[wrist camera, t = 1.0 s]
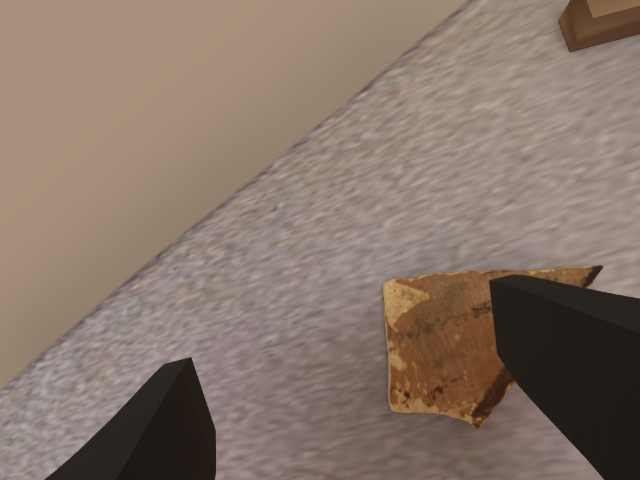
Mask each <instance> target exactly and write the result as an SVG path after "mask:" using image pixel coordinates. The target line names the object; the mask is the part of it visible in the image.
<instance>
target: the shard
mask: <svg viewBox="0 0 640 480" xmlns="http://www.w3.org/2000/svg"><path fill="white" fill-rule="evenodd" d="M602 269H603V266H602V265H599V266H583V267H563V268H557V269H551V270H534V271H514V270H491V271H463V272H461V271H459V272H455V273H444V272H443V273H439V274H426V275H420V276H418V277H416V278H413V279H391V280H389V281H385V282H383V283H382V284H383V296H384V303H385V312H384V318H385V329H386V340H387V351H388V368H389V370H388V391H387V393H388V401H389V404H390V408H391V410H392V411H394V412H404V413H412V412H418V413H435V414H444V415H447V416H450V417H455V418H458V419H462V420H465V421H467V422H468V423H470V424H471V425H472V426H473V427H474V428H475V429H477V430H478V429H479V428H481V427H482V426H483V424H484V421H485V420H486V418H488V417H489V416H490V414H491V412H492V410H493V409H494V408H495V407H496V406H498V405H499V403H500V402H501V401H502V400H503V398H504V397H505V395H506V394H507V391H508V390H509V389H510V387H511V386H512V385H513V384H514V383H515V382H516V381H515V380H514V378H513V377H512V375H511V374H510V373H509V371H508V370H507V368H506V367H505V365H504V364H503V362H502V361H501V359H500V358H499V356H498V355H497V348H496V339H495V330H494V321H493V313H492V304H491V295H490V286H489V280H492V279H496V278H500V277H504V276H508V275H511V274H518V275H526V276H532V277H537V278H542V279H547V280H551V281H556V282H560V283H565V284H569V285H574V286H578V287H583V288H587V287H589V286H590V285H591V284H593V282H594V280H595V278H596V277H597V275H598V274H599V273H600V271H601V270H602Z"/></svg>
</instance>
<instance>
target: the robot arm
mask: <svg viewBox="0 0 640 480" xmlns="http://www.w3.org/2000/svg"><path fill="white" fill-rule="evenodd" d="M489 286H490V295H491V304H492V313H493V321H494V330H495V339H496V348H497V355H498V356H499V358H500V359H501V361H502V362H503V364H504V365H505V367H506V368H507V370H508V371H509V373H510V374H511V375H512V377H513V378H514V380H515V381H516V382H517V384H518V385H519V387H520V388H521V389H522V390H523V391H524V392H525V393H526V394H527V396H528V397H529V398H530V399H531V400H532V401H533V402H534V403H535V404H536V405H537V406H538V408H539V409H540V410H541V411H542V412H543V413H544V414H545V415H546V416H547V417H548V418H549V419H550V420H551V422H552V423H553V424H554V425H555V426H556V427H557V428H558V429H559V430H560V431H561V432H562V433H563V434H564V435H565V436H566V438H567V439H568V440H569V441H570V442H571V443H572V444H573V445H574V446H575V447H576V448H577V449H578V450H579V451H580V452H581V454H582V455H583V456H584V457H585V458H586V459H587V460H588V461H589V462H590V464H591V465H592V466H593V467H594V468H595V469H596V470H597V472H598V473H599V474H600V475H601V476H602V477H603V479H604V480H640V299H639V298H633V297H627V296H622V295H616V294H611V293H606V292H601V291H597V290H592V289H587V288H583V287H578V286H574V285H569V284H565V283H560V282H556V281H551V280H547V279H542V278H537V277H532V276H526V275H518V274H511V275H508V276H504V277H500V278H496V279H492V280H489ZM215 474H216V430H215V427H214V424H213V421H212V418H211V415H210V412H209V409H208V406H207V403H206V400H205V397H204V394H203V391H202V388H201V385H200V382H199V379H198V376H197V373H196V370H195V367H194V364H193V361H192V358H191V357H190V358H186V359H182V360H178V361H174V362H170V363H166V364H164V365H163V366H162V367H161V368H159V369H158V370H157V371H156V372H155V373H154V374H153V375H152V376H151V377H150V379H149V380H148V381H147V382H146V383H145V384H144V385H143V386H142V387H141V388H140V389H139V390H138V391H137V392H136V393H135V395H134V396H133V397H132V398H131V399H130V400H129V401H128V402H127V403H126V404H125V405H124V406H123V407H122V408H121V409H120V410H119V411H118V413H117V414H116V415H115V416H114V417H113V418H112V419H111V420H110V421H109V422H108V423H107V424H106V425H105V426H103V427H102V428H101V429H100V430H99V431H98V432H97V433H96V434H95V435H94V436H93V437H92V438H91V439H90V440H89V441H88V442H87V443H86V444H85V445H84V446H83V447H82V448H81V449H80V450H79V451H78V452H76V453H75V454H74V455H73V456H72V457H71V458H70V459H69V460H67V461H66V462H65V463H64V464H63V465H62V466H61V467H59V468H58V469H57V470H56V471H55V472H53V473H52V474H51V475H50V476H48V477H47V478H46V479H45V480H215Z"/></svg>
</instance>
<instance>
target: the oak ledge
mask: <svg viewBox="0 0 640 480" xmlns="http://www.w3.org/2000/svg"><path fill="white" fill-rule="evenodd" d="M559 23H560V26H561V29H562V31H563V34H564V37H565V40H566V42H567V45H568V48H569V51H570V52H572V51H575V50H579V49H583V48H587V47H591V46H594V45H598V44H602V43H606V42H610V41H614V40H617V39H621V38H625V37H629V36H633V35H636V34H640V0H570V2H569V4H568V5H567V7H566V9H565V11H564V12H563V14H562V16H561V18H560V19H559Z"/></svg>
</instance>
